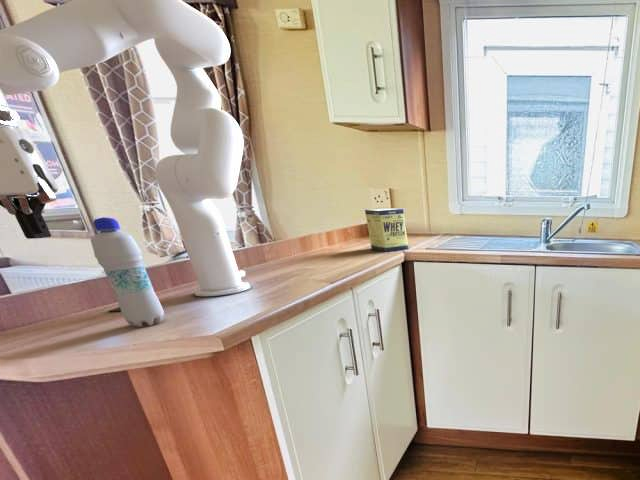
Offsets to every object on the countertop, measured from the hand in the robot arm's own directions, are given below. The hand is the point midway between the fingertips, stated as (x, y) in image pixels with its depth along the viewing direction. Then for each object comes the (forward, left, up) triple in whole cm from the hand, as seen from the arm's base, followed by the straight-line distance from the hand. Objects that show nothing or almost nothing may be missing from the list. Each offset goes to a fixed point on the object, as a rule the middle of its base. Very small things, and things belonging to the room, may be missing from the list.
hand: (39, 237), depth 76 cm
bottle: (0, +12, -17) cm, 21 cm away
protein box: (-102, +43, -17) cm, 112 cm away
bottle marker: (-15, -2, -17) cm, 23 cm away
